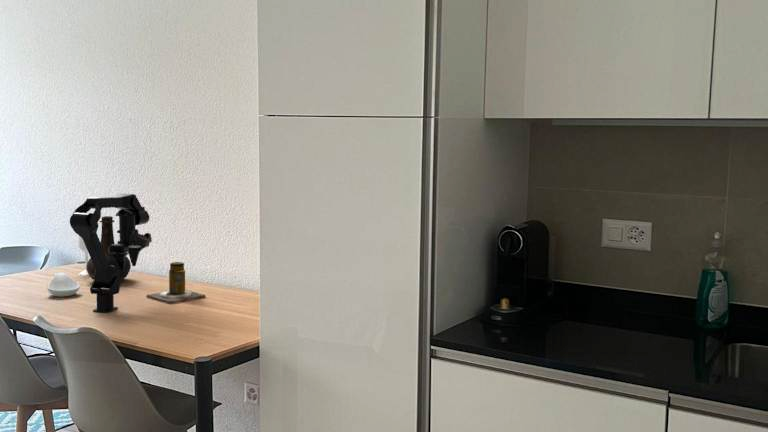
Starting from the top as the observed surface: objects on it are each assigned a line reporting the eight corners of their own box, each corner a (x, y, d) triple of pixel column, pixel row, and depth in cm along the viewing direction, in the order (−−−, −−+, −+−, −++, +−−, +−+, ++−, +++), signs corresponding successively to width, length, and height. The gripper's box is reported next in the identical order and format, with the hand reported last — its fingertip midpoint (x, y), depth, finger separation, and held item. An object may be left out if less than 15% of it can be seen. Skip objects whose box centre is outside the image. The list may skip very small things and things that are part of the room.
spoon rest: (82, 297, 293) (82, 279, 292) (49, 300, 287) (49, 281, 286) (72, 286, 313) (72, 269, 312) (41, 288, 307) (41, 271, 306)
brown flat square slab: (169, 304, 283) (169, 299, 283) (146, 297, 293) (146, 292, 293) (205, 297, 295) (205, 292, 295) (181, 291, 306) (181, 286, 305)
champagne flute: (85, 275, 334) (84, 221, 331) (75, 273, 337) (74, 220, 335) (98, 273, 340) (96, 220, 337) (88, 271, 343) (86, 219, 340)
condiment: (187, 291, 298) (187, 261, 297) (184, 296, 290) (184, 265, 288) (168, 291, 297) (168, 261, 296) (165, 296, 289) (164, 265, 288)
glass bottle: (113, 287, 311) (111, 220, 308) (77, 283, 317) (75, 217, 313) (139, 279, 328) (138, 215, 325) (105, 276, 334) (103, 213, 330)
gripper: (136, 231, 272) (137, 273, 274) (158, 224, 290) (159, 264, 292) (107, 230, 273) (108, 272, 275) (131, 223, 292) (132, 263, 294)
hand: (128, 268), depth 284 cm, fingers open, 9 cm apart
